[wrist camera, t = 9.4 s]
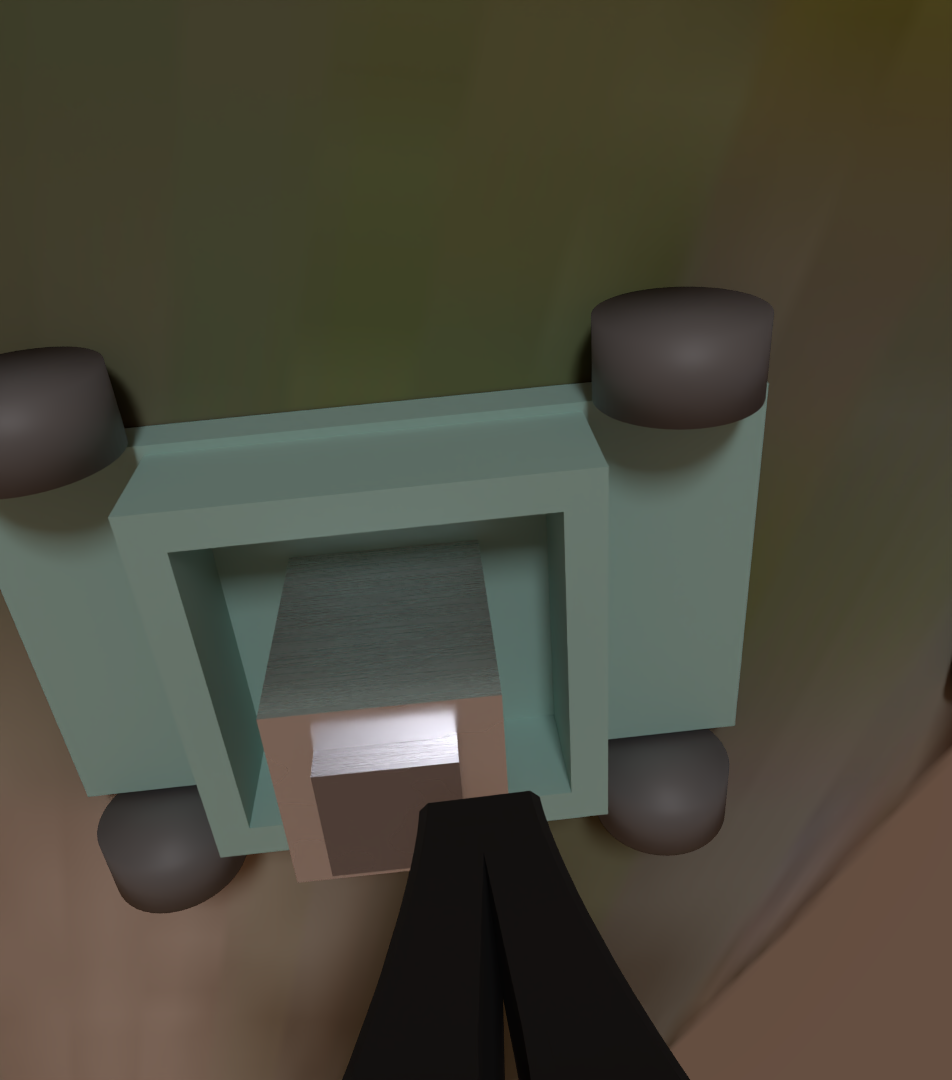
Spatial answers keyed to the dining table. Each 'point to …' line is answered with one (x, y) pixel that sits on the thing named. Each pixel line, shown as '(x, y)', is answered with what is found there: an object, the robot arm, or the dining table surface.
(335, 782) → the block
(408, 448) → the chassis
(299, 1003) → the dining table surface
